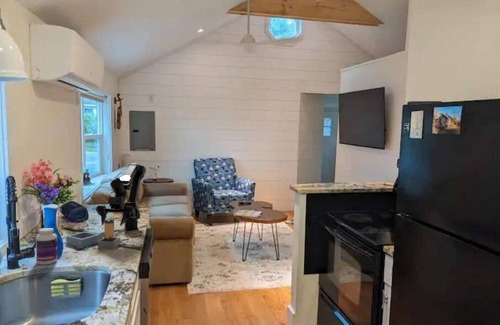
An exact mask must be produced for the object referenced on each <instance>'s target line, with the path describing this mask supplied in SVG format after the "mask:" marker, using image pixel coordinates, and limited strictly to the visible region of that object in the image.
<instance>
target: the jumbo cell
mask: <svg viewBox="0 0 500 325" xmlns="http://www.w3.org/2000/svg"><path fill="white" fill-rule="evenodd" d="M103 227H104V230H103V233H104V236H103V237H104V241H114V237H115V219H109V218H108V219H105V221H104V224H103Z"/></svg>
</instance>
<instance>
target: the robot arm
mask: <svg viewBox="0 0 500 325" xmlns="http://www.w3.org/2000/svg"><path fill="white" fill-rule="evenodd" d="M146 173H147V169H146V167H145V166H144V165H140V164H139V163H129V164H128V168H127V170H126V172H124V175H123V176H120V177H116V178H115V179H113V180H112V181H111V182H110V188H111V190H112V193H114V195H113V196H108V200H107V204H109V205H108V206H109V207H107V206H106V205H101V204H99V205H98V204H97V206H96V207H95V210H96V213H97V215H98V216H100V219H101V221H100V222H101V226H104V221H105V220H107V214H108V213H116V214H117V213H118V214H119V213H120V214H122V216H121V221H120V224H119V225H120V226H123V225H124V229H125V230H126V231H133V230H134V231H135V230H139V228H138V225H139V224H138V219H141V212H140V210H139V207H138V206H139V205H138V204H137V201H138V197H139V196H138V195H139V190H140V184H141V180H143V178H145V174H146ZM128 191H129V196H128ZM126 198H128V200H127V201H126Z"/></svg>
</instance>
